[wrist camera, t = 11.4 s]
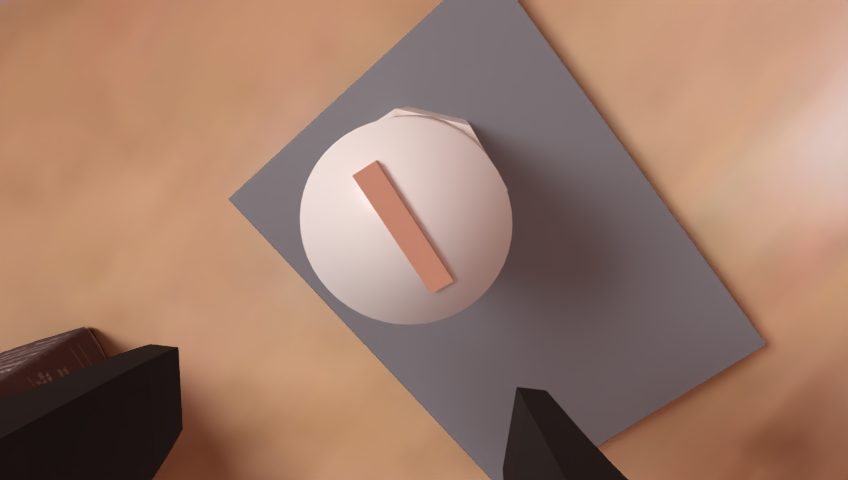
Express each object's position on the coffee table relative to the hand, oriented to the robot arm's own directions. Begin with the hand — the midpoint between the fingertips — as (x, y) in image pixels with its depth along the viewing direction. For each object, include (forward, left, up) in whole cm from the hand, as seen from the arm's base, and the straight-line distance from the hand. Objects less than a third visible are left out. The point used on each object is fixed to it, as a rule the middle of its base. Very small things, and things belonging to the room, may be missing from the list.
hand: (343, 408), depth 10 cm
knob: (+2, -3, -8) cm, 9 cm away
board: (-3, -3, -9) cm, 10 cm away
